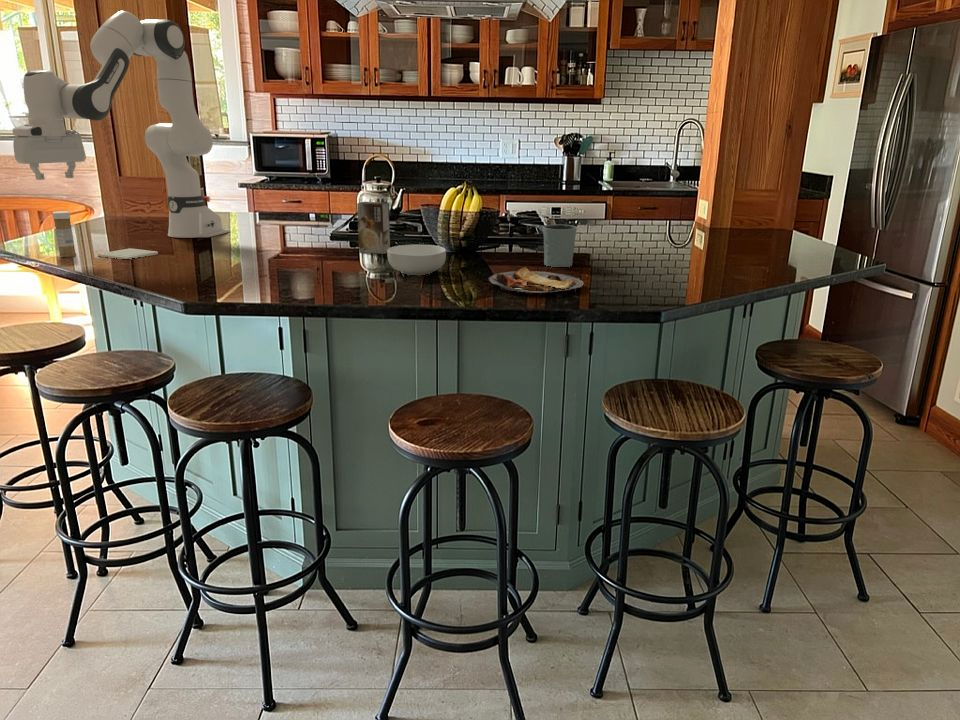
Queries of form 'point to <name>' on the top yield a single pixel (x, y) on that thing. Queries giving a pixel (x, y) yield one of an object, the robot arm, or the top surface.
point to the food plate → (534, 281)
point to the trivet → (128, 253)
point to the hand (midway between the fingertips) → (55, 178)
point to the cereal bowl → (416, 258)
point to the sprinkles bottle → (64, 233)
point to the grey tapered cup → (559, 245)
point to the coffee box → (373, 227)
